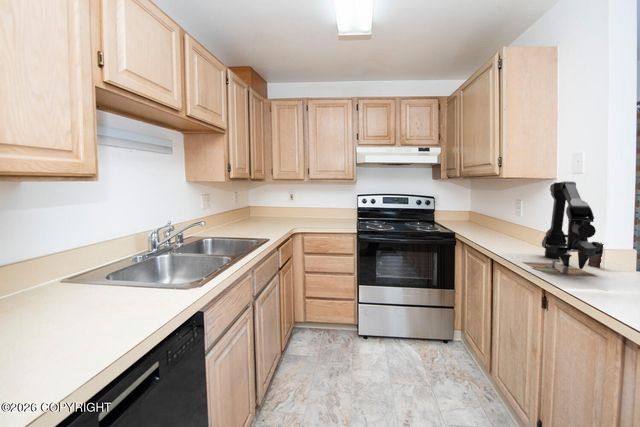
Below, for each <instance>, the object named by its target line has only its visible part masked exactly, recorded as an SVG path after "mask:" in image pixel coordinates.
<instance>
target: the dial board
mask: <svg viewBox="0 0 640 427" xmlns="http://www.w3.org/2000/svg"><path fill="white" fill-rule="evenodd" d="M521 263H523V264H525V265H527V266H529V267H531V269H533V270H535V271H539V272H542V273H544V274H545V275H548V276H563V277H565V276H569V277H570V276H571V277H597V278H599V275H596V274H594V273H591V272H589V271H586V270H583V269H579V267H578V268H577V267H576V266H573V265H571V264H569V268H568V274H564V273H561V272H560V271H559V270H557V269H556V268H555V267H552V262H540V261H539V262H536V261H535V262H534V261H522V262H521ZM561 263H562V264H563V262H561ZM563 265H564V264H563Z"/></svg>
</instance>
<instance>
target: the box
mask: <svg viewBox="0 0 640 427" xmlns="http://www.w3.org/2000/svg"><path fill="white" fill-rule="evenodd" d="M593 242H594V241H592V243H593ZM602 243H603V242H600V247H601V248H602V249H603V250H604V247H603V245H605V243H604V244H602ZM594 254H595V253H594ZM601 257H602V258H603V254H595V256H592V257H590V258H589V259H588V260H587V261H588V263H587V267H588V266H589V267H594V268H597V269H600V268H601V265H600V263H601V264H602V259H601Z"/></svg>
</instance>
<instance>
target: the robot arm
mask: <svg viewBox="0 0 640 427" xmlns="http://www.w3.org/2000/svg"><path fill="white" fill-rule="evenodd" d="M549 186H550V187H549V190H550V195H551V197H552V199H553V207H552V214H551V221H550V222H551V224H550V228H549V229H548V230H547V231H546V232H545V236H544V237H543V239H542V241H541V247H542V248H544V249H545V250H544V257H545V258H547V259H552V260H553V259H557V260H560V261H561V263H563V264H564V265H565V266H566V267H568V268H569V265H570V258H571V257H572V254H570V253H572V252H575V253H576V252H577V258H578V269H581V270H583V269H584V267H585V265H586V263H587V261H589V258H590V257H592V256H595V254H602V255H603V253H604V248H603V249H602V248H601V247H600V243H601V242H600V243H599V241H592V242H593V243H592V242H589V241H588V240H589V238H592V237H594V235H596V232H597V231H596V228H595V226H594V225H592V224H591V223H594V220H595V216H594V213H593V209H592V208H591V206H590V205H589V204H588V202H587V201H585V200H583V199H582V198H581V196H580V193H579V192H578V189H577V184H576V182H575V181H572V180H571V181H569V180H568V181H566V180H565V181H560V182H553V183H552V184H550V185H549ZM566 202H567V207H566ZM565 214H566V217H567V218H568V224H567V225H568V226H567V234H565V233H564V231H563V225H564V218H565V217H564V216H565ZM594 253H595V254H594Z"/></svg>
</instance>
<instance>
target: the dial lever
mask: <svg viewBox="0 0 640 427" xmlns="http://www.w3.org/2000/svg"><path fill="white" fill-rule="evenodd" d="M551 263H552V267H555V268H556V269H557V270H559V271H560V272H561V273H564V274H568V267H566V266H565V265H563V264H562V263H563V262H561V259H552V262H551Z"/></svg>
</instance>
